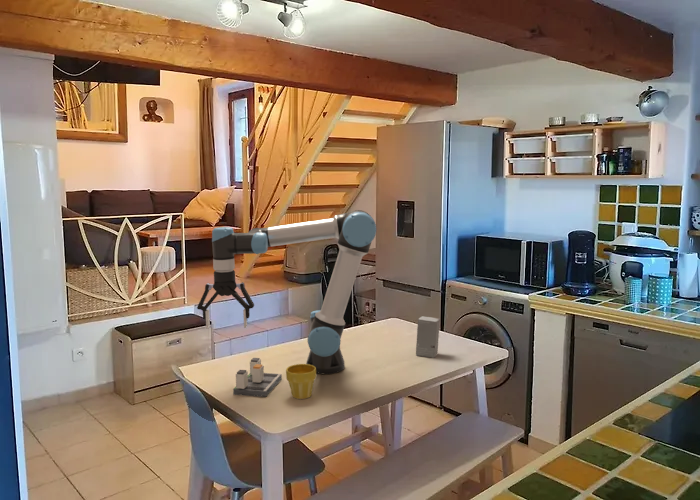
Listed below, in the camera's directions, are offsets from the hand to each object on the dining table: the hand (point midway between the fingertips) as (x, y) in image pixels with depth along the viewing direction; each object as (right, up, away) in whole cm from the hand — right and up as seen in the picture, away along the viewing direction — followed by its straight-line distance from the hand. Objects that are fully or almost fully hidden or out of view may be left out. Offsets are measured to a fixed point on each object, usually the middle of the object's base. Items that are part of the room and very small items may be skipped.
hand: (226, 327), depth 204 cm
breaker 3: (+12, -19, -3) cm, 22 cm away
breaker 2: (+10, -18, +4) cm, 21 cm away
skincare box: (+78, -16, +32) cm, 86 cm away
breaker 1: (+7, -20, -9) cm, 23 cm away
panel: (+12, -21, -3) cm, 24 cm away
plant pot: (+28, -22, -11) cm, 38 cm away
